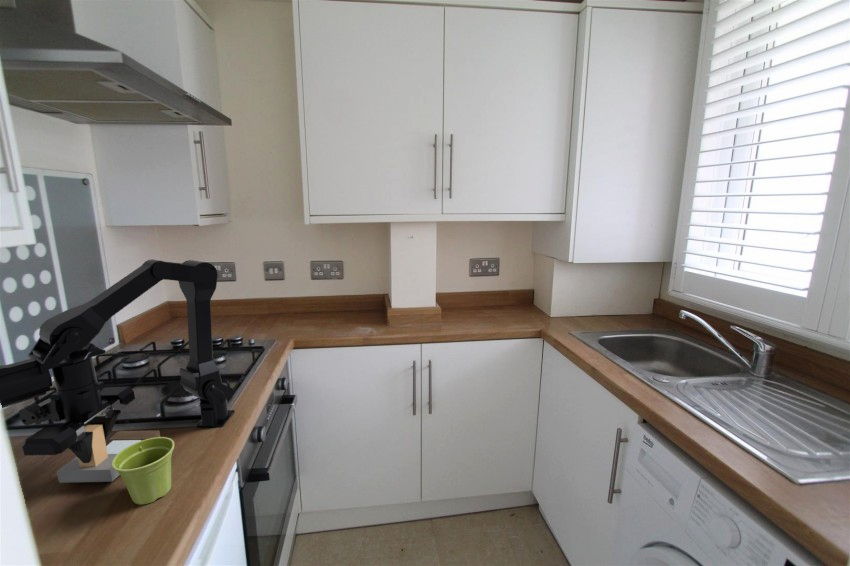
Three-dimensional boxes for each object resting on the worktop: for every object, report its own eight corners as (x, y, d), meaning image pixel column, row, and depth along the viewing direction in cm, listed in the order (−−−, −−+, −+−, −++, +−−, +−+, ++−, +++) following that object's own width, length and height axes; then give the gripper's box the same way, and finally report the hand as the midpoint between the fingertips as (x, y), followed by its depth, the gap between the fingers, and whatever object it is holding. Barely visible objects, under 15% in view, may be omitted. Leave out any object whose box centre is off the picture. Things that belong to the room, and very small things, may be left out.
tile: (115, 452, 85) (113, 440, 85) (143, 452, 85) (141, 440, 85) (93, 471, 79) (90, 459, 79) (123, 471, 80) (120, 458, 79)
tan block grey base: (81, 465, 79) (73, 422, 77) (131, 464, 79) (124, 421, 77) (59, 482, 74) (49, 436, 72) (112, 481, 74) (104, 435, 72)
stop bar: (121, 440, 89) (119, 431, 88) (161, 440, 89) (159, 430, 88) (110, 449, 86) (108, 439, 85) (152, 448, 86) (150, 438, 85)
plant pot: (109, 516, 68) (99, 473, 66) (137, 478, 77) (129, 439, 75) (168, 508, 70) (160, 466, 68) (189, 472, 79) (182, 434, 77)
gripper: (75, 362, 81) (91, 428, 85) (-23, 411, 63) (2, 493, 67) (130, 361, 82) (143, 427, 85) (47, 410, 63) (68, 492, 67)
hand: (94, 456), depth 76 cm, fingers closed on tan block grey base, 3 cm apart
